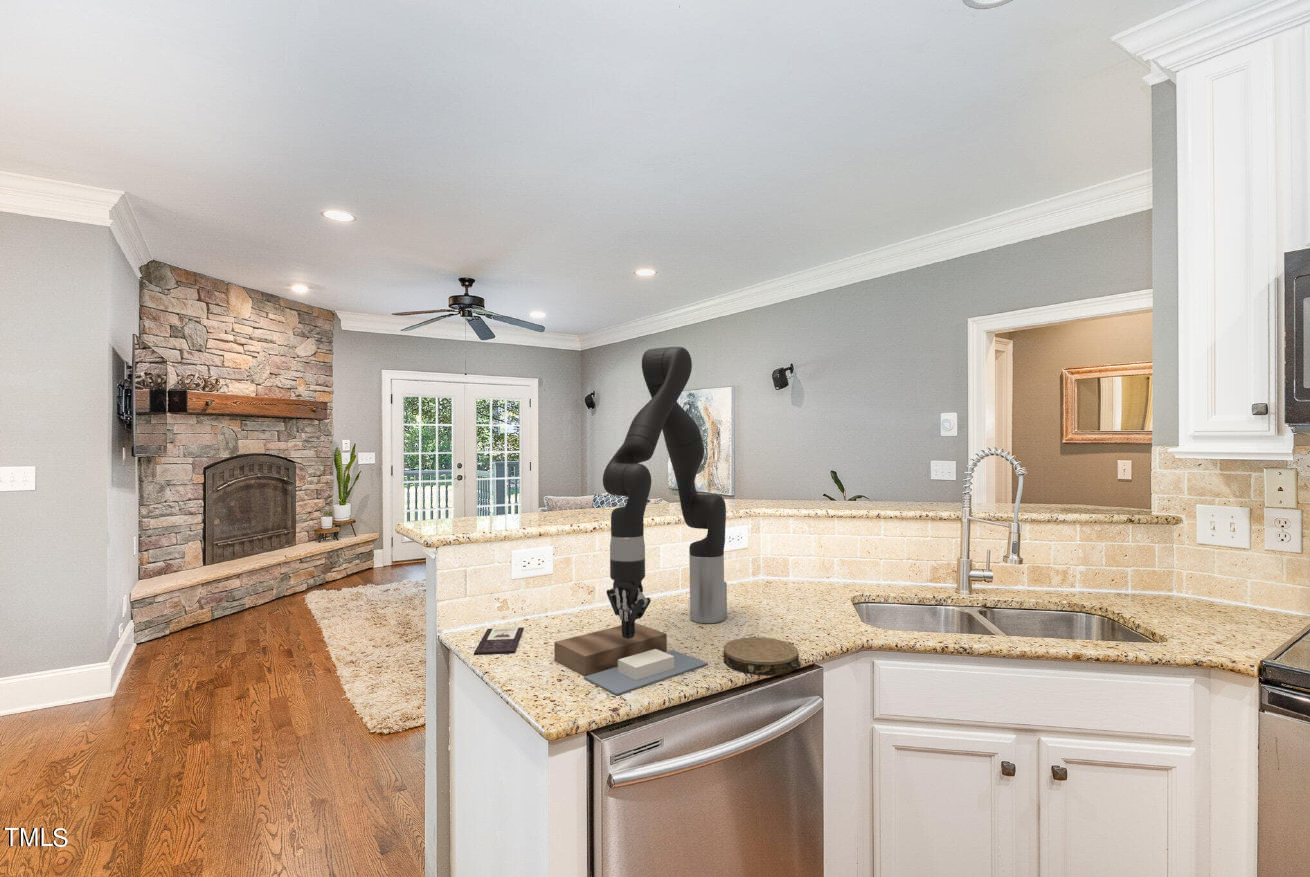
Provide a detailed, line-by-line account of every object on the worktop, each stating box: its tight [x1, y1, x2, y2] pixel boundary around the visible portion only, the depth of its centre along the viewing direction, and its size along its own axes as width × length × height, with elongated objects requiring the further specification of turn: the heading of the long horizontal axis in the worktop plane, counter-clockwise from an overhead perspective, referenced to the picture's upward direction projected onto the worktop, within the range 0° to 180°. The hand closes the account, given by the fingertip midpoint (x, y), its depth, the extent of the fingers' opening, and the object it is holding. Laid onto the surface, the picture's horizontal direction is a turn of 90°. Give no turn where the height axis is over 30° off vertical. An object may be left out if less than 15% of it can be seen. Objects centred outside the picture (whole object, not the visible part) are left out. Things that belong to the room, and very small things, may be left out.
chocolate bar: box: [473, 626, 525, 656], centre depth 145 cm, size 9×1×18 cm
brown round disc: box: [723, 636, 800, 677], centre depth 130 cm, size 16×16×3 cm
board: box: [553, 622, 668, 677], centre depth 135 cm, size 22×12×4 cm, turn 130°
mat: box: [583, 649, 709, 697], centre depth 125 cm, size 24×11×1 cm, turn 130°
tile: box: [617, 649, 674, 680], centre depth 125 cm, size 10×6×2 cm, turn 129°
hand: (628, 637), depth 130 cm, fingers closed
